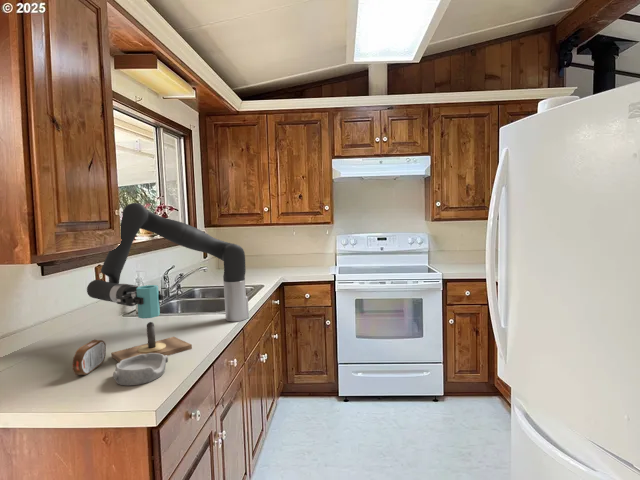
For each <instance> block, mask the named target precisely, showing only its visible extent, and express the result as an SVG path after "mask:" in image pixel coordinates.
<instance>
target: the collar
mask: <svg viewBox="0 0 640 480" xmlns="http://www.w3.org/2000/svg"><path fill="white" fill-rule="evenodd" d="M136 290H137V297H141V298H143V301H144V304H142V305H140V304H136V306H137V317H138V318H139V319H143V320H144V319H153V318H157V317H159V316H160V314H161V313H160V312H161V310H160V308H161V307H160V300H159V292H158V291H159V286H158V285H155V284H151V285H150V284H149V285H146V284H145V285H142V286H138V288H136Z"/></svg>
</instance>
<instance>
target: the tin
mask: <svg viewBox="0 0 640 480" xmlns="http://www.w3.org/2000/svg"><path fill="white" fill-rule="evenodd" d="M106 351H107V348H106V342H105V341H104V340H102V339H101V340H100V339H91V341H89V342H87V343H86V344H84V345H82V346H80V347H79V348H78V349H77V350H76V351H75V353H74V356H73V359H72V371H73V374H75V375H76V376H85V375H88V374H90V373H92V372H93V371H95V370H96V369H97V368H98V367H100V366H101V365H102V364H103V363H104V362H105V359H106V354H107V353H106Z"/></svg>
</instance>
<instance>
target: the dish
mask: <svg viewBox="0 0 640 480" xmlns="http://www.w3.org/2000/svg"><path fill="white" fill-rule="evenodd" d="M168 356H169V355H168ZM168 356H167V355H165V356H164V355H163V354H159V353H147V354H140V355H137V356H133V357H130V358H127V359H124V360H121V361H120V363H119V362H118V363H116V364H115V371H114V372H113V374H112V378H113V379H114V380H115V382H116V383H117V384H118V385H120V386H139V385H143V384H148V383H150V382H153V381H155V380H157V379H158V378H160V377H162V376H163V375H164V373H165V371H166V364H168V363H169V357H168Z"/></svg>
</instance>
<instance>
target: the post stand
mask: <svg viewBox="0 0 640 480" xmlns="http://www.w3.org/2000/svg"><path fill="white" fill-rule="evenodd" d="M155 331H156V330H155V323H154V322H151V321H150V322H147V324H146V335H147V343H144V344H140V345H136V346H132V347H129V348H124V349H121V350H116V351H113V352H110V354H111V358H112V359H114V360H115V361H117V362H118V363H120V361H121V360H124V359H127V358H130V357H133V356H137V355H140V354H147V353H159V354H163V355H164V356H165V355H167V356H171V355H175V354H178V353H182V352H184V351H188V350H192V348H193V345H192V344H191V343H190V342H187V341H185V340H183V339H180V338H178V337H175V336H171V337H167V338H163V339H160V340H156V332H155Z"/></svg>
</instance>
